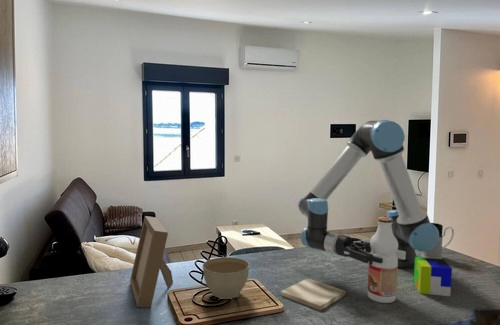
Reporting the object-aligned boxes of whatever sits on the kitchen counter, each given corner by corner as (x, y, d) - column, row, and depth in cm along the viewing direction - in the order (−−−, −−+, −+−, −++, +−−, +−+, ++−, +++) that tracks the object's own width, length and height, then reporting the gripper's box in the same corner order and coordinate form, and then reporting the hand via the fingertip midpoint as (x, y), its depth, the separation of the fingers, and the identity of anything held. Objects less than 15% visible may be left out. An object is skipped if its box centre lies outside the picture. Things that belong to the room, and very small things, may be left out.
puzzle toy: (450, 296, 135) (451, 268, 134) (419, 293, 137) (421, 266, 136) (442, 285, 144) (443, 259, 143) (413, 282, 146) (415, 257, 145)
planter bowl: (255, 289, 138) (255, 259, 137) (239, 308, 123) (239, 275, 122) (214, 282, 143) (214, 254, 142) (194, 300, 128) (194, 269, 127)
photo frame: (137, 309, 121) (136, 232, 119) (129, 283, 141) (128, 217, 139) (183, 301, 127) (183, 228, 125) (170, 278, 147) (169, 214, 145)
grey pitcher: (417, 253, 180) (419, 222, 179) (445, 253, 182) (447, 222, 180) (428, 260, 171) (430, 227, 170) (457, 259, 173) (460, 226, 172)
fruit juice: (394, 306, 126) (398, 222, 124) (364, 300, 130) (368, 219, 128) (397, 295, 135) (401, 216, 132) (369, 289, 139) (373, 213, 136)
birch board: (307, 282, 145) (307, 278, 145) (345, 295, 134) (345, 290, 134) (280, 295, 133) (280, 291, 133) (320, 310, 122) (320, 306, 122)
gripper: (353, 247, 151) (411, 262, 136) (322, 261, 135) (384, 279, 120) (353, 229, 150) (412, 241, 135) (323, 240, 134) (385, 256, 119)
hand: (399, 259), depth 127 cm, fingers closed on fruit juice, 9 cm apart
